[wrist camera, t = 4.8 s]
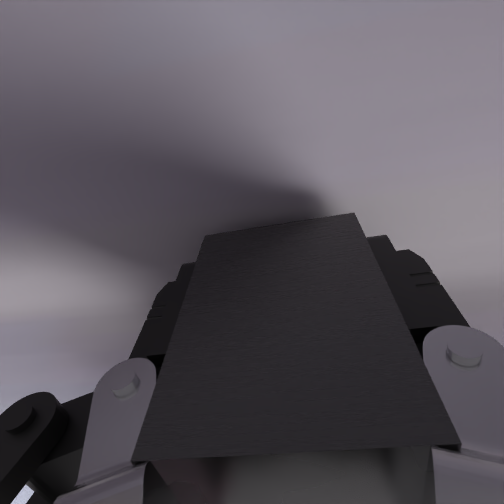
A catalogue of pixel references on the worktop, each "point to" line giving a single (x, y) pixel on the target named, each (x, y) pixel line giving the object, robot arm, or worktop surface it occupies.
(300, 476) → the plunger
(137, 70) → the worktop surface
